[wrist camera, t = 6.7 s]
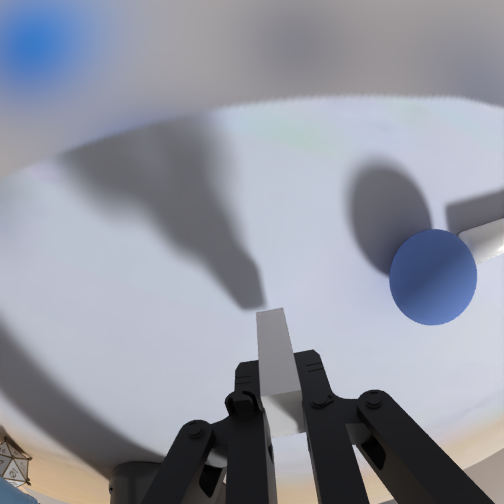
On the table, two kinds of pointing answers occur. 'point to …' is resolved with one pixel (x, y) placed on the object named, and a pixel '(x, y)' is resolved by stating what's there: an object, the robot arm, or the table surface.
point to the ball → (433, 277)
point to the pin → (485, 240)
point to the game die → (13, 465)
